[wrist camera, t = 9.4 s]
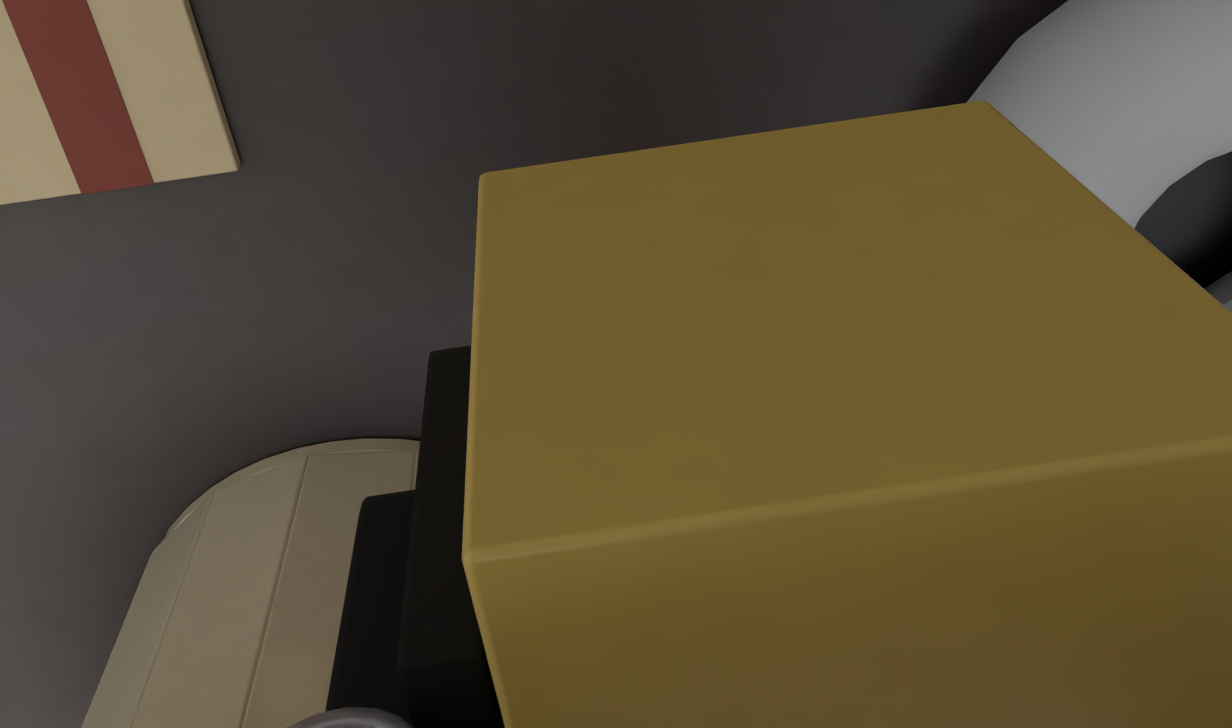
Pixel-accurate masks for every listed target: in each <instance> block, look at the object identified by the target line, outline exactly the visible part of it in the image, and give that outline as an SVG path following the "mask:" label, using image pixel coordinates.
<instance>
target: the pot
mask: <svg viewBox="0 0 1232 728" xmlns="http://www.w3.org/2000/svg"><path fill="white" fill-rule="evenodd" d="M419 447H420V441H415V440H406V439H380V438H363V439H352V440H341V441H330V442H325V443H320V444H315V445H310V446H306V447H301V448H296V449H293V450H290V451H287V452H284V453H281V454H277V455H274V456H271V457H268V458H265V459H263V460H261V461H259V462H256V463H254V464H252V465H250V466H248V467H246V468H243V469H241V470H239V471H237V472H235V473H233V474H232V475H230V476H229V477H227V478H226V479H224V480H222V481H221V482H219V483H218V484H216V485H214V486H213V487H211V488H210V489H208V490H207V491H206V492H205V493H204V494H203V495H201V496H200V497H199V498H198V499H197V500H195V501H194V502H193V503H192V504H191V505H190V506H188V507H187V508H186V509H185V511H184V512H183V513H182V514H181V515H180V516H179V517H178V519H177V520H176V521H175V522H174V523H173V524H172V526H171V527H170V528H169V529H168V531H167V533H166V534H165V536H164V538H163V539H162V541H161V543H160V544H159V545H158V546H157V547H156V548H155V549H154V550H153V552H152V555H151V556H150V557H149V560H148V562H147V565H146V567H145V570H144V572H143V575H142V577H141V580H140V582H139V585H138V587H137V590H136V592H135V595H134V597H133V600H132V602H131V605H130V607H129V610H128V612H127V615H126V617H125V620H124V622H123V625H122V627H121V630H120V632H119V635H118V637H117V640H116V642H115V645H114V647H113V650H112V652H111V655H110V657H109V660H108V662H107V665H106V667H105V670H104V672H103V675H102V677H101V680H100V682H99V685H98V687H97V690H96V692H95V695H94V697H93V700H92V702H91V705H90V707H89V710H88V712H87V715H86V717H85V720H84V722H83V725H82V727H81V728H286V727H288V726H291V725H293V724H295V723H297V722H299V721H302V720H304V719H306V718H308V717H310V716H312V715H315V714H317V713H322V712H325V710H326V704H327V698H328V692H329V687H330V681H331V675H332V669H333V663H334V657H335V651H336V646H337V640H338V634H339V628H340V622H341V616H342V611H343V605H344V599H345V593H346V587H347V581H348V576H349V570H350V564H351V558H352V552H353V546H354V540H355V535H356V529H357V523H358V517H359V512H360V508H361V505H362V501H363V500H364V499H365V498H366V497H368V496H375V495H381V494H388V493H395V492H401V491H408V490H415V484H416V475H417V466H418V456H419Z"/></svg>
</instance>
